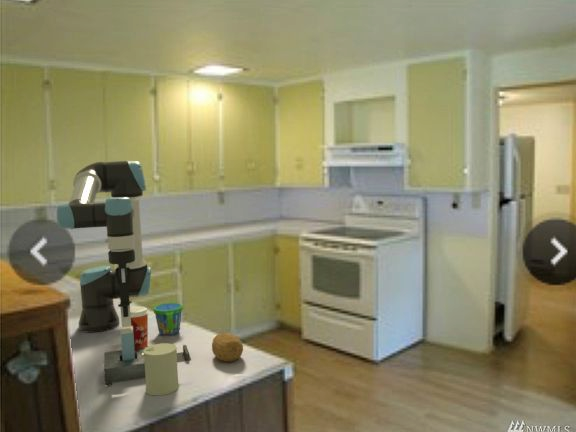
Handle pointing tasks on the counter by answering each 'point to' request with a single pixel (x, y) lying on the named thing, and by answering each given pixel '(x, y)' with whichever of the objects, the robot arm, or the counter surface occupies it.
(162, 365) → the can
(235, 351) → the potato
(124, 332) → the plug
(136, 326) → the coffee cup
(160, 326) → the snack cup
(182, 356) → the dark grey bridge bracket
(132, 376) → the port
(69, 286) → the counter surface
